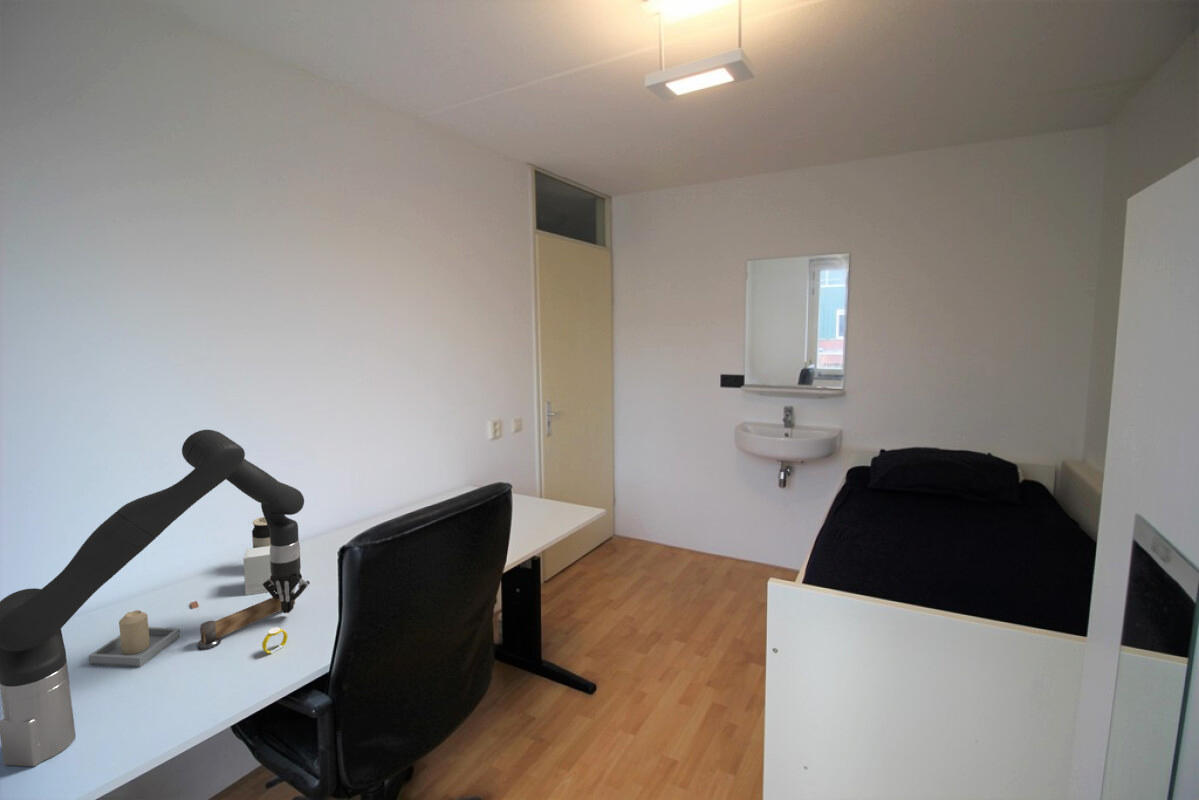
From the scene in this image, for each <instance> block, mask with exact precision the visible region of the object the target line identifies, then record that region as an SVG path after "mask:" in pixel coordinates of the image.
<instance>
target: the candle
mask: <svg viewBox="0 0 1199 800" xmlns="http://www.w3.org/2000/svg"><path fill="white" fill-rule="evenodd" d="M118 626H119V635H120V638H121V648H122V653H123V654H125V655H132V654H136V653H139V652H142V651H144V650H146V649H147V648H148V647H149V645H150V640H149V628H148V627H149V618H148V614H147V613H146V612H144V611H141V610H137V609H136V610H133V611H128V612H127V613H126V614H125V615H123V616H122V618H121V619H119V621H118Z"/></svg>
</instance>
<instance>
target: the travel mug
mask: <svg viewBox="0 0 1199 800" xmlns="http://www.w3.org/2000/svg"><path fill="white" fill-rule="evenodd" d="M251 523H252V525H253V529H252V530H251V535H252V536H251V537H252V548H258V547H266V546H270V530H269V527H268V525H267V522H266V520H265V517H264V516H262V517H258V518H256V519H253V520H252V522H251Z"/></svg>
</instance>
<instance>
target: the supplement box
mask: <svg viewBox="0 0 1199 800" xmlns="http://www.w3.org/2000/svg"><path fill="white" fill-rule="evenodd" d="M243 574H244V576H243V577H244V593H245V596H251V595H257V594H263V593H269V592H268V591H267V590H266V588H265V587H264V586H263V583H264V582H265V581H267V580H268V579H270V576H271V570H270V546H266V547H258V548H253V547H252V548H247V549H246V550H245V553H244V556H243Z"/></svg>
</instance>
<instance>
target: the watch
mask: <svg viewBox="0 0 1199 800" xmlns="http://www.w3.org/2000/svg"><path fill="white" fill-rule="evenodd" d="M280 633H282V636H283V637H282V640H281V642H280V643H279V645H282V646H283V645H284V646H285V645H286V644H287V641H288V632H286V631H285V630H284V629H282V628H280V627H278V626H277V627H275V626H274V627H272V628H270V629H269V630H268V632H267V635H266V636H265V637H264V639H263V641H262V644H261V645H262V650H263V651H264V652H265V653H266V654H269V653H271V652H270V650H269V649H267V645H268V642H269V640H270V639H271V637H273V636H277V635H279V634H280Z"/></svg>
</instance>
